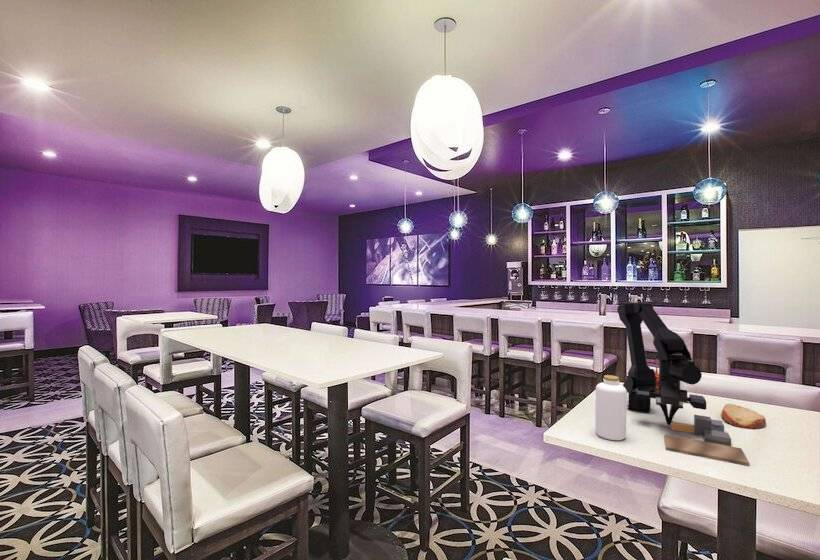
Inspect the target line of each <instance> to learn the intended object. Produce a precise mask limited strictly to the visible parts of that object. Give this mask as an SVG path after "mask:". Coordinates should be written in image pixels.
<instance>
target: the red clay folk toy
mask: <svg viewBox="0 0 820 560" xmlns="http://www.w3.org/2000/svg"><path fill="white" fill-rule="evenodd" d="M650 362H651V363H655V370H654V371H655V378H656V382H657V384H656V388H655V393H659V365H658V363H659V359H656V358H655V360H653V359H651V360H650Z"/></svg>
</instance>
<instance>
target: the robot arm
mask: <svg viewBox="0 0 820 560" xmlns="http://www.w3.org/2000/svg"><path fill="white" fill-rule="evenodd" d="M616 310H617V311H616V312H617V314H618V317H619V320H620V321H621V323H622V324H623V325H624V326H625V330H626V336H627V344H628V350H629V356H630V364H631V366H630V367H629V369H628V371H627V379H626V380H625V381H624V383H623V384H622V386H624V387H625V389H626V391H627V394H628V406H627V410H628V411H633V412H640V413H644V414H645V413H646V414H649V413H650V411H651V403H652V402H651V400H652V399H654V400H655V405H656V406H659V407H660V409H661V410H662V412H663V416H664V418H665V421H666V422H665V423H666V425H668V426H671V422H672V421H673V419H674V416H675V414H676V413H677V412H678V411H679V409H680V410H681V409H684V404H689V405H690V406H691V407H692V408H693V409H700V410H707V400H706V398H705V397H704V396H703V395H698V394H692V393H690V394H689V396H688V390H686V389H681V383H685V384H687V385H692V386H693V385H696V384H698V383H699V382H701V379H702V376H703V374H702V372H701V370H700V368H699V367H698V366H696V364H695V361H694V360H693V358H692V356H691V355H692V354H691V352H690V351H689V349H688V347H687V345H686V343H685V340H684V339H683V338H682V337H681V336H680V335H679V334H678V333H677V332H675V331H673V330H671V329H670V328H668V327H667V325H666V324H665V323H664V321H663V320H662V319H661V317H660V316H659V314H658V313H657V311H656V310H655V309H654V306H653V303H650V302H639V301H638V302H634V301H633V302H627V301H625V302H620V304H619V305H618V306H617V308H616ZM642 323H644V324H645V327H647V329H648V330H649V332H650V334H651V335H652V337H653V341H652V343H653V347H654V348H655V350H656V352H657V353H658V354H657V355H656V356H655V360H656V359H657V360H658V364H659V365H658V374H659V393H655V388H656V384H657V382H656V378H655V371H656V370H655V369H654V368H651V367H650V366H649V365H648V362H647V357H646V356H647V355H646V350H645V349H646V348H645V343H644V339H643V337H644V336H643V332H642ZM668 405H670V406H669V407H670V408H669V411H668Z"/></svg>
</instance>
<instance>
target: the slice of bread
mask: <svg viewBox="0 0 820 560" xmlns="http://www.w3.org/2000/svg"><path fill="white" fill-rule="evenodd" d="M720 416H721V417H722V419H723V420H724V421H725V422H726V423H727V424H729V425H731V426H733V427H735V428H739V429H746V430H755V429H763V428H766V426H767V423H766V421H767V419H766V417H765V416H764V415H762V414H760V413H758V412H757V411H755V410H752V409H750V408H747V407H745V406H740V405H737V404H734V403H727V404H725V405H724V406H723V408H722V410H721V415H720Z"/></svg>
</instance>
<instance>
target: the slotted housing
mask: <svg viewBox="0 0 820 560" xmlns="http://www.w3.org/2000/svg"><path fill="white" fill-rule="evenodd" d="M711 421H712V430H708V429H703V436H702V439H703V442H709V443H714V444H720V445H725V446H731V447H732V437H731V435H730V434H729V432H726V431H725V425H724V423H723V421H722V420H718V419H712V418H711Z"/></svg>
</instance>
